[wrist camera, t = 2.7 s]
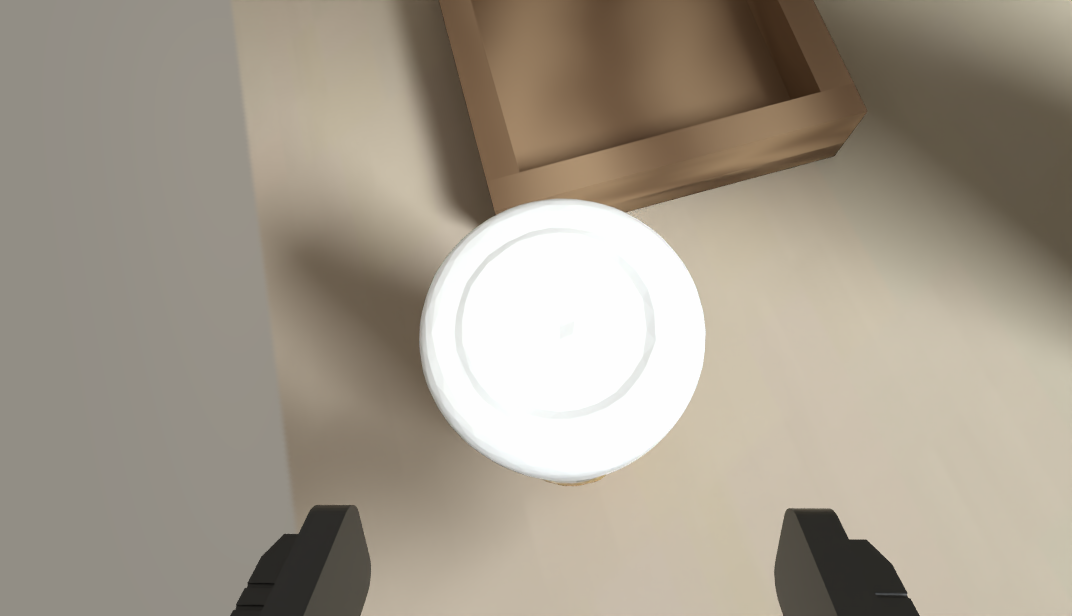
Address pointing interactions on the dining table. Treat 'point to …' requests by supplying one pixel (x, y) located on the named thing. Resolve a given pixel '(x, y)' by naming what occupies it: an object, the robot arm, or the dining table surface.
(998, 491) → the dining table surface
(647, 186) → the tray
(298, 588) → the robot arm
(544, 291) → the spice jar
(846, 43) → the dining table surface
